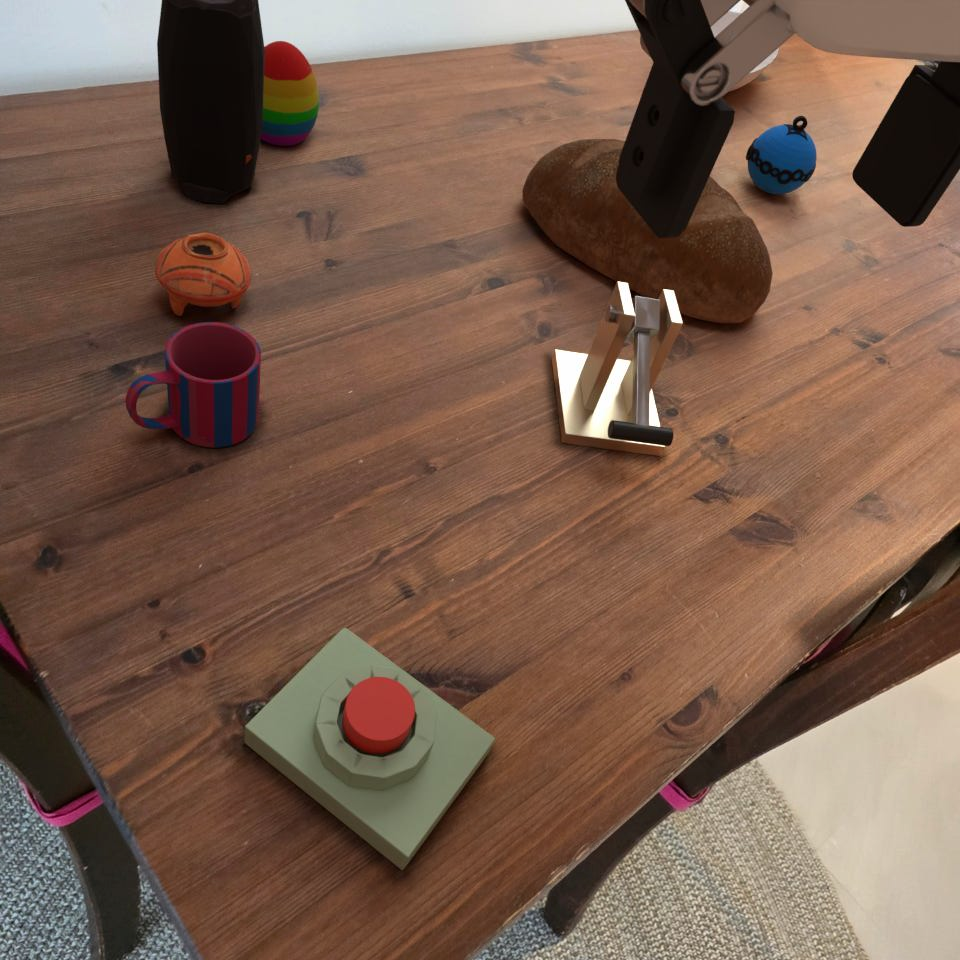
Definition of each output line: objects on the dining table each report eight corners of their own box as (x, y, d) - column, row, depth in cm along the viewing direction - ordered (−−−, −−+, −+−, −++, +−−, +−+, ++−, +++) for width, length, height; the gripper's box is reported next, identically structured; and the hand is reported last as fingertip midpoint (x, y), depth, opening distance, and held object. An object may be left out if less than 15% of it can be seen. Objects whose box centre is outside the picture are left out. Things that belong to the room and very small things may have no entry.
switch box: (488, 753, 56) (503, 725, 53) (402, 871, 50) (413, 846, 47) (341, 643, 59) (347, 610, 56) (243, 742, 53) (244, 711, 50)
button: (424, 717, 52) (429, 704, 51) (382, 768, 50) (386, 755, 49) (371, 678, 53) (374, 663, 52) (327, 725, 51) (330, 711, 50)
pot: (137, 278, 78) (150, 210, 74) (223, 285, 82) (240, 220, 78) (162, 334, 73) (178, 264, 69) (252, 337, 78) (271, 272, 74)
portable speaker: (274, 197, 91) (284, -3, 76) (188, 214, 86) (181, 4, 72) (235, 154, 94) (237, -45, 80) (149, 168, 89) (135, -41, 75)
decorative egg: (250, 108, 101) (252, 18, 94) (321, 124, 102) (328, 36, 95) (233, 143, 96) (234, 50, 89) (309, 159, 97) (316, 69, 90)
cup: (272, 434, 69) (276, 369, 64) (144, 471, 64) (138, 404, 60) (237, 379, 73) (238, 313, 68) (112, 410, 68) (103, 342, 63)
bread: (721, 357, 89) (772, 263, 81) (488, 219, 97) (513, 121, 88) (776, 296, 99) (826, 206, 91) (561, 175, 107) (590, 83, 98)
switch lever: (664, 450, 71) (676, 441, 69) (605, 442, 71) (615, 432, 68) (664, 315, 75) (676, 302, 73) (608, 306, 74) (618, 292, 72)
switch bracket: (660, 456, 77) (715, 354, 69) (561, 443, 76) (604, 337, 67) (642, 372, 85) (689, 270, 76) (551, 358, 83) (589, 253, 75)
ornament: (792, 181, 119) (829, 110, 112) (802, 214, 113) (841, 141, 106) (732, 165, 118) (765, 92, 111) (738, 198, 113) (774, 123, 105)
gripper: (1037, -871, 10) (590, 299, 23) (1625, -465, 17) (1033, 265, 30) (710, -824, 15) (483, 143, 27) (1288, -513, 21) (893, 145, 34)
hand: (771, 207), depth 28 cm, fingers open, 9 cm apart
